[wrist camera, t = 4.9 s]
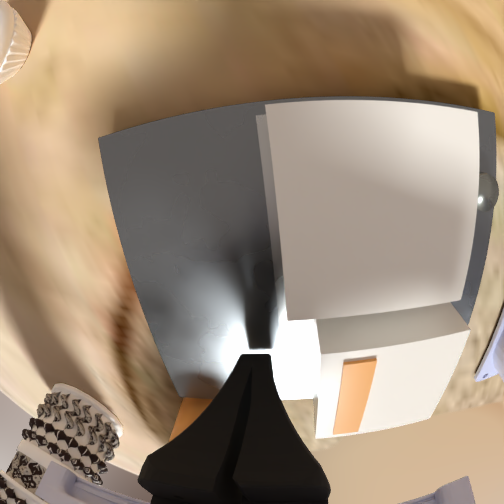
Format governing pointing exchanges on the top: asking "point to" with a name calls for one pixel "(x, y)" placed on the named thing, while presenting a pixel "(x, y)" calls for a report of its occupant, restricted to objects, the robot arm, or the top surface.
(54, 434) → the decorative candle
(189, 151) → the panel
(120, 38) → the top surface
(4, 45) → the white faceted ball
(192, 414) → the cap
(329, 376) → the toggle
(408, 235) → the toggle
